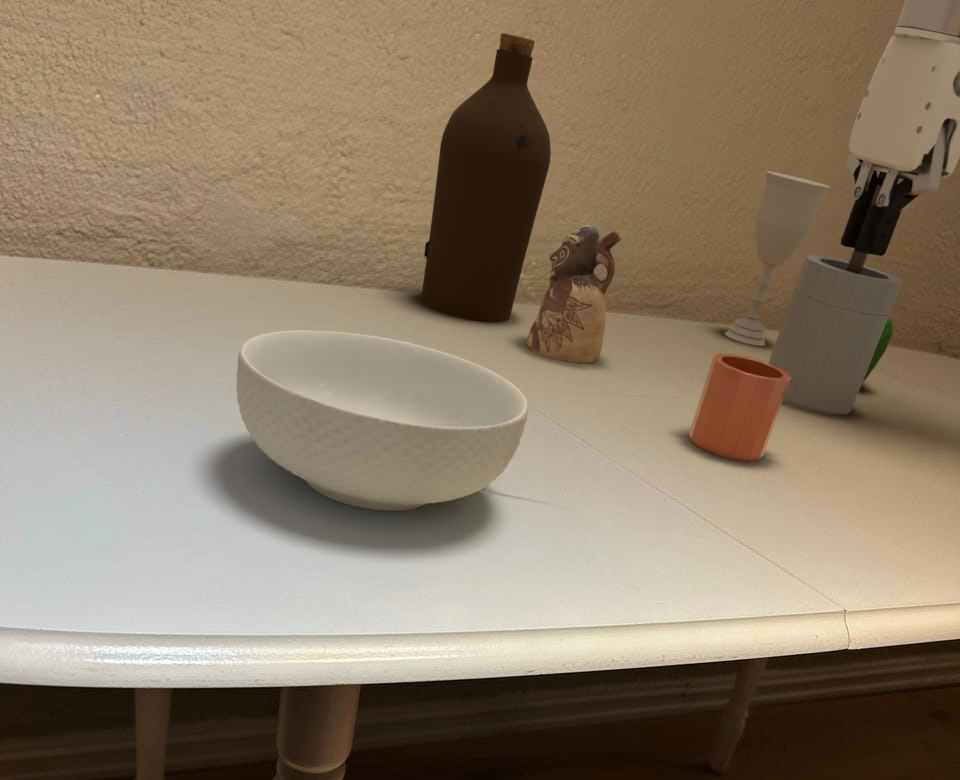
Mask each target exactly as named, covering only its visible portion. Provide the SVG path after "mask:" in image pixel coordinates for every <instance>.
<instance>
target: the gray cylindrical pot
mask: <svg viewBox="0 0 960 780" xmlns="http://www.w3.org/2000/svg"><path fill="white" fill-rule="evenodd" d="M848 263H849V260H843V259H839V258H834V257H830V256H824V255H823V256H822V255H816V254H808V255H806V256H805V257H804V260H803V263H802V266H801V269H800V272H799V275H798V277H797V281H796V282H795V286H794V289H793V291H792V294H791V297H790V300H789V303H788V306H787V309H786V312H785V314H784V316H783V320H782V323H781V326H780V328H779V332H778V335H777V338H776V340H775V343H774V347H773V350H772V352H771V355H770V358H769V361H768V362H767V363H768V364H771V365H774V366H776V367H778V368H780V369H782V370H784V371H786V372H787V373H788V374H789V375H790V377H791V379H790V382H789V385H788V388H787V391H786V393H785V396H784V399H783V401H784V402H786V403H789V404H790V405H794V406H797V407H800V408H803V409H807V410H811V411H815V412H820V413H824V414H832V415H846V414H849V413H851V411H852V409H853V407H854V405H855V402H856V400H857V398H858V394H859V392H860V389H861V388H862V385H863V383H864V382H863V380H864V377H865V374H866V372H867V369H868V367H869V364H870V362H871V359H872V357H873V354H874V352H875V349H876V347H877V344H878V342H879V339H880V337H881V334H882V332H883V329H884V327H885V324H886V321H887V319H889V317H890V313H891V312H892V309H893V306H894V304H895V302H896V299H897V296H898V294H899V292H900V288H901V286H902V285H903V284H902V283H903V280H902V279H900V278H898V277H897V276H894V275H892V274H890V273H888V272H886V271H881V270H879V269H876V268H872V267H869V266H866V265H864V267H863V269H862V272H861V275H860V274H856V273H853V272H849V271H846V269H847V266H848ZM862 382H863V383H862Z"/></svg>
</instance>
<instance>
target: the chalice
mask: <svg viewBox="0 0 960 780" xmlns="http://www.w3.org/2000/svg"><path fill="white" fill-rule="evenodd" d="M765 178H766V184H765V188H764V190H763V193H762V197H761V201H760V203H759V206H758V210H757V213H756V216H755V242H756V250H757V258H758V260H759V261H760V262H761V263H762V264H763V271H762V272H761V274H760V276H759V278H758V279H757V280H756V284H757V285H756V291H755V292H754V294H753V295H751V296H750V300H751V305H750V309H749V311H748V313H747V314H745V316H744V317H738V318H737V319H735V320H734V321H733V322H734V323H732V324H731V325H730V327H729V328H728V330H727V331H726V332H724V334H725V336H726V337H728V338H730V339H732V340H735V341H737V342H740V343H744V344H748V345H751V346H752V345H753V346H759V347H760V346H766V342H765V338H766V335H765V327H764V324H763V323H762V322H760V321H759V320H760V318H759V311H760V308H761V307H762V305H763V304H764V303H766V299H765V293H766V291H767V290H768V288H769V287H770V286H772V285H771V274H772V273H773V271H774V269H775V267H781V266H783V265H785V263H787V262H788V260H789V259H790V258H791V257H792V256H793V254H795V253H796V251H797V250H798V249H799V248H800V247H801V245H802V244H803V243H804V241H805V240H806V239H807V237H808V236H809V235H810V234H811V230H812V227H813V225H814V221H815V220H816V216H817V214H818V211H819V208H820V205H821V202H822V199H823V197H824V195H825V194H826V193H827V192H828V191H829V190H830V189H831V186H829V185H826V184H824V183H819V182H817V181H813V180H809V179H806V178H803V177H802V178H801V177H798V176H793V175H789V174H784V173H781V172H775V171H769V170H765Z"/></svg>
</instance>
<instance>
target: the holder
mask: <svg viewBox="0 0 960 780" xmlns="http://www.w3.org/2000/svg"><path fill="white" fill-rule="evenodd" d="M768 363H769V362H766V361H763V360H760V359H757V358H753V357H748V356H745V355H739V354H734V353H733V354H732V353H717V354H715V355H713V356H712V360H711V363H710V366H709V370H708V373H707V376H706V378H705V383H704V385H703V388H702V392H701V395H700V398H699V401H698V404H697V406H696V410H695V413H694V416H693V419H692V422H691V425H690V429H689V432H688V438H689V440H690V441H691V442H692V443H693V444H694V445H696V447H699V448H700V449H702V450H704V451H706V452H709V453H711V454H714V455H717V456H720V457H723V458H726V459H731V460H736V461H745V462H755V461H759V460H760V459H762V457H763V456H764V455H765V451H766V448H767V446H768V443H769V440H770V437H771V435H772V432H773V429H774V426H775V423H776V421H777V418H778V416H779V413H780V410H781V407H782V404H783V399H784V396H785V393H786V391H787V388H788V385H789V382H790V379H791V377H790V375H789V374H788V373H787V372H786V371H784V370H782V369H780V368H778V367H776V366H774V365H771V364H768Z"/></svg>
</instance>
